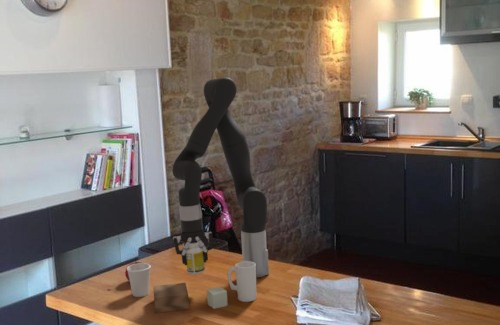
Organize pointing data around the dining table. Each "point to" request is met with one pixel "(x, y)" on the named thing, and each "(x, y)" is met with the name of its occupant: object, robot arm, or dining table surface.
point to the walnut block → (171, 297)
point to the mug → (244, 280)
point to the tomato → (127, 271)
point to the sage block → (217, 297)
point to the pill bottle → (195, 259)
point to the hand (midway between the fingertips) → (195, 263)
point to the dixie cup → (139, 279)
